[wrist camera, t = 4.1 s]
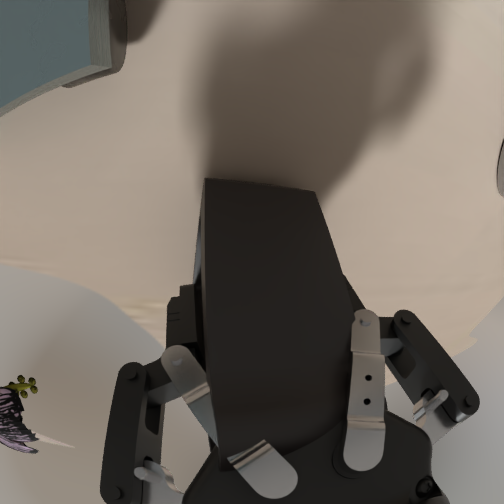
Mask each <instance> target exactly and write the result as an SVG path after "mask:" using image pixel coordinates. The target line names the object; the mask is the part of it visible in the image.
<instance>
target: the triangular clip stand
mask: <svg viewBox="0 0 504 504" xmlns="http://www.w3.org/2000/svg"><path fill="white" fill-rule="evenodd" d="M193 284H195V288H196V292H197V295H198V299H199V303H200V307H201V313H202V331H203V358H204V360H200V365H201V367H202V369H203V370H204V371H205V373H206V378H207V384H208V385H209V389H210V395H211V403H212V408H213V413H214V418H215V425H216V432H217V441H218V455H219V463H218V465H219V469H220V472H223V471H233V470H236V469H235V467H234V466H233V465H232V464H231V463H230V461H229V460H228V459H227V458H228V457H231V456H234V455H236V454H239V453H241V452H243V451H245V450H247V449H249V448H251V447H253V446H254V445H256V444H258V443H259V442H261V441H262V440H265V441H266V442H267V443H269V444H270V445H271V446H272V447H273V448H274V449H275V450H276V451H277V452H278V453H279V454H280V455H281V456H284V455H287V454H289V453H291V452H294V451H296V450H298V449H300V448H302V447H304V446H306V445H308V444H310V443H312V442H314V441H315V440H317V439H319V438H320V437H322V436H323V435H325V434H326V433H328V432H329V431H330V430H332V429H333V428H334V427H335V426H336V425H337V424H338V423H339V422H341V420H342V419H343V418H344V414H345V406H346V398H347V389H348V376H347V372H348V360H349V351H350V341H351V331H352V324H353V322H354V321H355V320H356V319H355V315H354V311H353V308H352V304H351V300H350V297H349V293H348V290H347V286H346V283H345V280H344V276H343V273H342V270H341V267H340V263H339V260H338V257H337V254H336V251H335V248H334V245H333V242H332V239H331V236H330V233H329V230H328V227H327V224H326V221H325V219H324V216H323V213H322V210H321V208H320V205H319V202H318V199H317V197H316V194H315V192H313V191H307V190H301V189H294V188H288V187H281V186H273V185H266V184H258V183H250V182H241V181H232V180H223V179H212V178H204V185H203V192H202V200H201V208H200V216H199V225H198V234H197V243H196V253H195V264H194V275H193ZM384 409H386V410H388V409H387V402H386V398H384ZM208 438H209V446H210V452H211V451H212V450H213V448H214V447H215V445H216V444H215V443H214V441H213V440H212V439H211V437H210V436H209V435H208Z"/></svg>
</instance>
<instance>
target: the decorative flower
mask: <svg viewBox="0 0 504 504" xmlns="http://www.w3.org/2000/svg"><path fill="white" fill-rule="evenodd" d="M17 379H18V381H19V382H20V383H18V384H15V383H13V382H10V383H9V385H7V386H5V387H0V442H1V443H2V444H4V445H6V446H7V447H10V448H12V449H15V450H17V451H21V452H25V453H37V452H38V450H36V449H33V448H30V447H27V446H26V445H25V444H24V442H32V441H36V440H39V439H38V438H35V434H36V433H34V434H32V432H31V430H28V429H27V428H26V426H25V425H24V424H22V419H23V418H22V416H21V412H22V411H24V408H23V406H22V403H21V400H20V398H19V391H21V392H20V394H21V396H22V397H23V398H27V396H28V394H27V392H26V391H24V390H25V389H27V388H30V389H31V391H32V392H33V393H34V394H35V393H37V387H36V386H33V385H35V384H36V381H35V379H34V378H29V384H28V383H24V382H25V378H24V377H23V376H22V375H19V376H18V378H17Z"/></svg>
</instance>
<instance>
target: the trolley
mask: <svg viewBox="0 0 504 504" xmlns="http://www.w3.org/2000/svg"><path fill="white" fill-rule="evenodd" d="M126 46H127V19H126V7H125V0H0V117H1V116H3V115H4V114H6V113H8V112H9V111H11V110H13V109H15V108H16V107H18V106H20V105H22V104H24V103H26V102H28V101H29V100H31V99H33V98H35V97H37V96H39V95H42V94H44V93H46V92H48V91H50V90H52V89H55V88H57V87H59V86H62V87H66V88H72V87H75V86H78V85H80V84H83V83H86V82H89V81H92V80H95V79H98V78H101V77H104V76H107V75H111V74H114V73H117V72H119V71H120V70H121V68H122V66H123V63H124V60H125V55H126Z"/></svg>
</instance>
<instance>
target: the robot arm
mask: <svg viewBox="0 0 504 504" xmlns="http://www.w3.org/2000/svg"><path fill="white" fill-rule="evenodd" d="M497 183H498V190H499V193H500V194H501V196H502V197H504V144H503V147H502V151H501V155H500V159H499V165H498V175H497ZM343 276H344V280H345V283H346V286H347V290H348V293H349V297H350V300H351V304H352V308H353V311H354V315H355V319H356V320H355V321H354V322H353V324H352V331H351V341H350V351H349V360H348V372H347V376H348V389H347V398H346V406H345V414H344V418H343V419H342V420H341V422H339V423H338V424H337V425H336V426H335V427H334V428H333V429H332V430H330V431H329V432H328V433H326V434H325V435H323V436H322V437H320V438H319V439H317V440H315V441H314V442H312V443H310V444H308V445H306V446H304V447H302V448H300V449H298V450H296V451H294V452H291V453H289V454H287V455H284V456H281V455H280V454H279V453H278V452H277V451H276V450H275V449H274V448H273V447H272V446H271V445H270V444H269V443H267V442H266V441H265V440H262V441H261V442H259V443H258V444H256V445H254V446H253V447H251V448H249V449H247V450H245V451H243V452H241V453H239V454H236V455H234V456H231V457H228V458H227V459H228V460H229V461H230V463H231V464H232V465H233V466H234V467H235V469H236V470H233V471H223V472H220V469H219V465H218V463H219V455H218V441H217V432H216V425H215V418H214V413H213V408H212V403H211V395H210V389H209V385H208V384H207V378H206V373H205V371H204V370H203V369H202V367H201V365H200V360H204V358H203V331H202V313H201V307H200V303H199V299H198V295H197V292H196V288H195V284H189V285H183V286H180V296H178V297H172V298H171V300H170V301H169V303H168V305H167V328H166V349H165V351H164V352H163V354H162V356H161V357H160V358H159V359H158V360H156V361H154V362H152V363H149V364H147V365H144V366H142V365H141V364H140V363H137V362H130V363H127V364H125V365H124V366H123V367H122V368H121V369H120V371H119V373H118V377H117V381H116V386H115V390H114V395H113V400H112V405H111V411H110V416H109V421H108V427H107V434H106V440H105V447H104V454H103V462H102V471H101V482H100V494H101V496H102V498H103V500H104V501H105V502H106V503H107V504H450V503H449V500H448V498H447V497H446V495H445V494H444V493H443V492H442V490H441V489H440V488H439V487H438V485H437V484H436V482H435V481H434V479H433V477H432V471H431V458H432V445H433V444H434V443H436V442H437V441H438V440H439V439H440V438H442V437H443V436H444V435H445V434H446V433H447V432H448V431H450V430H451V429H453V428H454V427H456V426H457V425H458V424H460V423H462V422H463V421H464V420H466V419H467V418H469V417H470V416H471V415H473V414H474V413H475V412H476V411H477V410H478V408H479V404H480V401H479V396H478V394H477V392H476V391H475V390H474V388H473V387H472V386H471V384H470V383H469V381H468V380H467V379H466V377H465V376H464V375H463V373H462V372H461V371H460V369H459V368H458V367H457V365H456V364H455V363H454V362H453V360H452V359H451V358H450V356H449V355H448V354H447V353H446V351H445V350H444V349H443V348H442V346H441V345H440V344H439V343H438V341H437V340H436V339H435V338H434V337H433V335H432V334H431V333H430V332H429V331H428V329H427V328H426V327H425V326H424V325H423V324H422V322H421V321H420V320H419V319H418V318H417V317H416V315H415V314H414V313H412V312H411V311H408V310H399V311H397V312H396V313H395V315H394V317H378V316H377V315H376V314H375V313H374V312H373V311H371V310H367V309H365V307H364V305H363V304H362V302H361V301H360V299H359V297H358V296H357V294H356V293H355V291H354V289H352V286H351V285H350V284H349V282H348V280H347V278H346V277H345V275H343ZM385 364H386V365H387V366H388V368H389V369H390V371H391V372H392V374H393V375H394V376H395V378H396V379H397V381H398V382H399V384H400V385H401V387H402V388H403V389H404V391H405V393H406V394H407V395H408V397H409V398H410V400H411V401H412V403H413V404H414V408H413V419H414V421H416V425H414V424H412V423H410V422H408V421H406V420H404V419H403V418H401V417H399V416H397V415H395V414H393V413H391V412H389V411H388V410H386V409H384V398H385ZM181 396H182V398H183V399H184V401H185V402H186V404H187V405H188V407H189V408H190V410H191V411H192V413H193V414H194V415H195V417H196V418H197V419H198V421H199V422H200V424H201V425H202V427H203V428H204V429H205V431H206V432H207V433H208V435H209V436H210V437H211V439H212V440H213V441H214V443H215V444H216V445H215V447H214V448H213V450H212V451H211V453H210V455H209V456H208V458H207V459H206V461H205V463H204V464H203V466H202V467H201V469H200V470H199V472H198V473H197V475H196V477H195V478H194V479H193V481H192V482H191V484H190V485H189V487H188V489H187V490H186V491H185V493H182V492H181V491H179V490H178V489H177V488H176V486H175V484H174V480H173V475H172V473H171V472H170V471H169V470H168V469H167V468H166V467H164V466H161V465H160V462H161V447H162V433H163V422H164V411H165V403H166V402H169V401H171V400H174V399H176V398H178V397H181Z"/></svg>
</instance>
